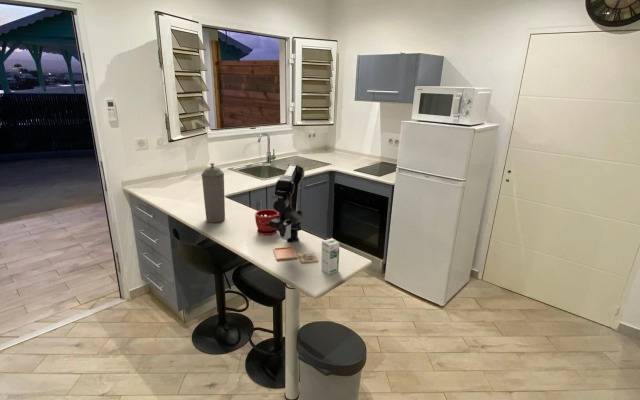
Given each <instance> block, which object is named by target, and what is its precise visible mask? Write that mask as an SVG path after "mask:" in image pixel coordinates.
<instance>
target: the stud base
mask: <svg viewBox="0 0 640 400" xmlns="http://www.w3.org/2000/svg"><path fill="white" fill-rule="evenodd" d="M297 258H299V261H300V263H301V264H306V263H307V264H310V263H318V262H319V259H318V258H317V256H316V254H315V252H311V251H310V252H307V251H306V252H303V253H298V254H297Z"/></svg>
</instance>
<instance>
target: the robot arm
mask: <svg viewBox="0 0 640 400" xmlns="http://www.w3.org/2000/svg"><path fill="white" fill-rule="evenodd" d="M287 165H288V166H287V169H286V171H285V173H284V175H282V176H280V177H279V178H278V179H277V181H276V183H275V189H274V196H277V199H275V201H274V202H273V205H272V206H273V210H275V211H277V212H279V215H277V217H278V218H279V220H278V219H273V220H271V221H269V227H273V228H276V229H277V230H278V234H279V233H280V235H281V237H284V228H285V227H286V226H287V225H285V223H289V224H291V237H290V238H289V239H287V240H286V242H287V243H293V242H300V237H299V235H298V234H299V232H300V231H302V222H301V220H302V219H303V218H304V214H303V210H298V204H299V203H298V202H299V193H300V184H301V183H302V181H303V180H304V177H305V170H304V167H302V166H299V164H297V163H288V164H287Z"/></svg>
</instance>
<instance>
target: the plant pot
mask: <svg viewBox="0 0 640 400" xmlns="http://www.w3.org/2000/svg"><path fill="white" fill-rule="evenodd" d="M265 215H266V216H265ZM277 215H279V212H277V211H276V210H275V209H261V210H259V211H256V212H255V213H254V220H255V224H256V228H257V231H256V232H257V233H258V234H259V235H261V236H267V237H269V236H274V235H275V234H277V233H279V231H278V230H277V229H276V228H273V227H269V221H271V220H273V219H278V220H279V218H278V217H277Z"/></svg>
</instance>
